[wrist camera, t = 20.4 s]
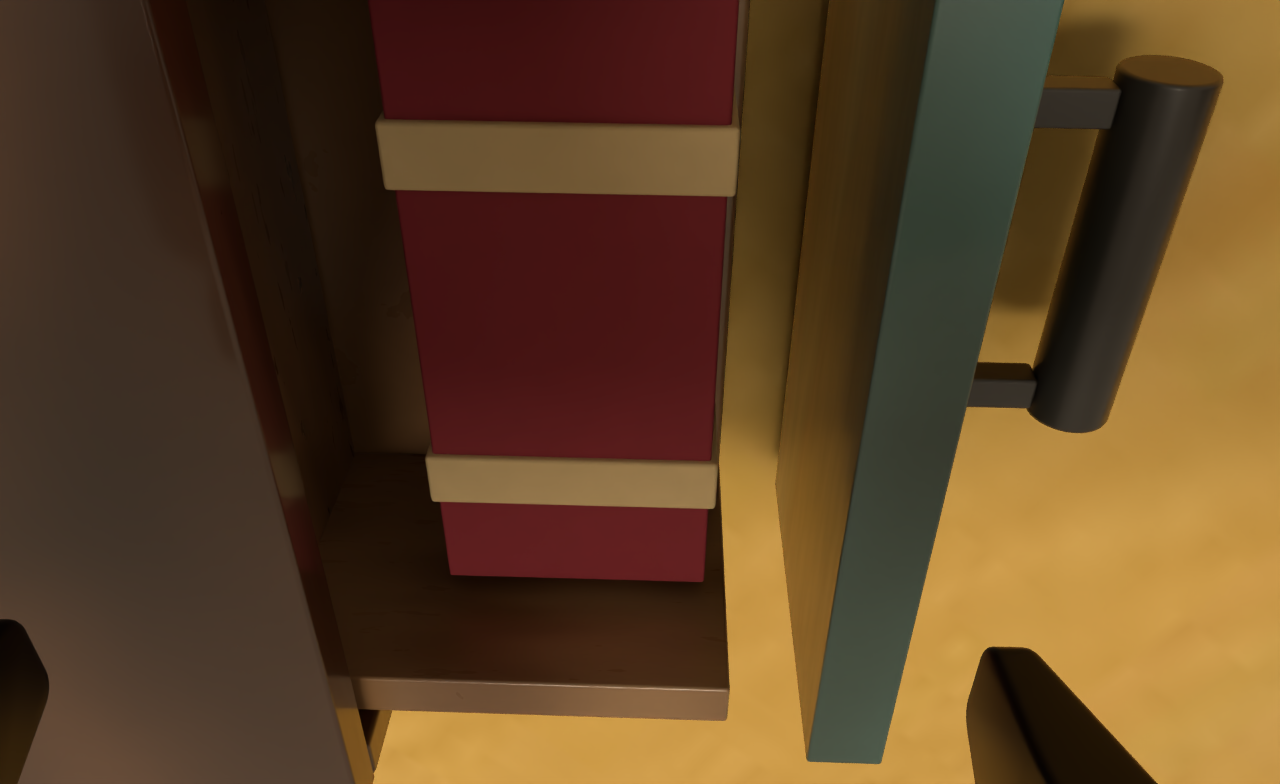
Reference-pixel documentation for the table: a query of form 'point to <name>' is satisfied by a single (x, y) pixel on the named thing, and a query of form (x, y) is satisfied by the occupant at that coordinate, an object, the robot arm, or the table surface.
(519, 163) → the block
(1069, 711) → the robot arm
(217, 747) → the cabinet
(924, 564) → the drawer
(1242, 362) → the table surface
